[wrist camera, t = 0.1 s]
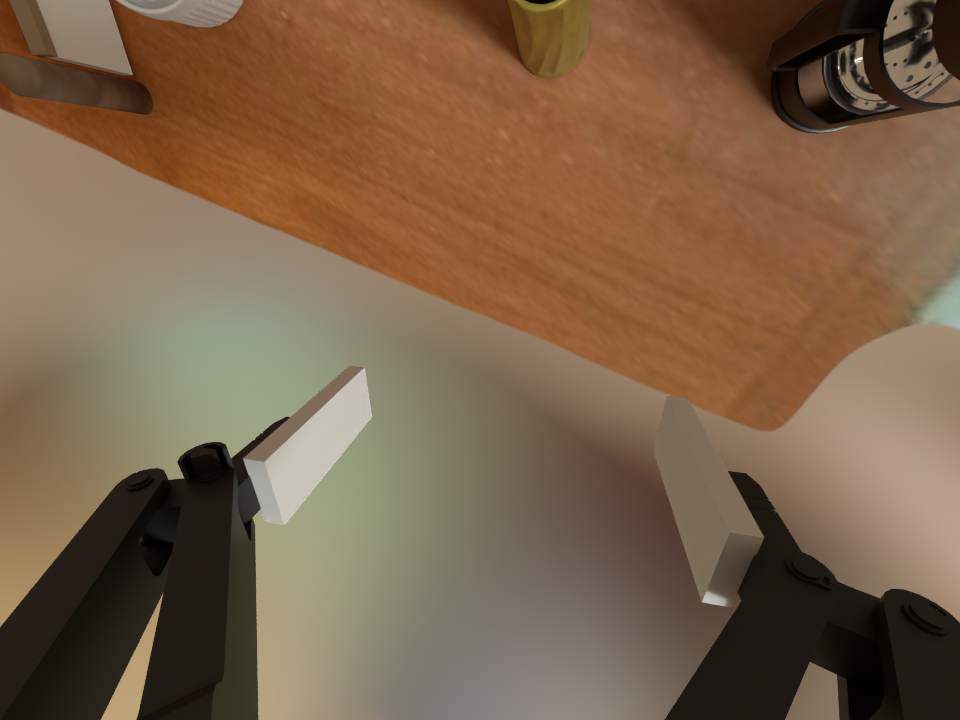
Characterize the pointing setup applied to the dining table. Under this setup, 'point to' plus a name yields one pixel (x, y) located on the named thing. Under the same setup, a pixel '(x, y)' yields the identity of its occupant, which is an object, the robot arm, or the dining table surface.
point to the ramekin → (187, 10)
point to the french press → (868, 60)
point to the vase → (551, 34)
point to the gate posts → (72, 85)
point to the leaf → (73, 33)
